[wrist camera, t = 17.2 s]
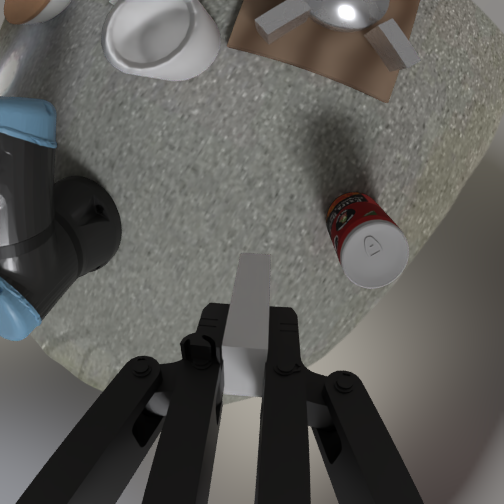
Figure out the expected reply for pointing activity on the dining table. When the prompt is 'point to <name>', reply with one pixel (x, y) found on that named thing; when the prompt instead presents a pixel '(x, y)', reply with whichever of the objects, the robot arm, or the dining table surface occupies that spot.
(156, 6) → the mug
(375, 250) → the canned food
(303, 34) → the wooden base plate
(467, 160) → the dining table surface
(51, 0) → the lidded jar
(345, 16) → the silver spoked hub
